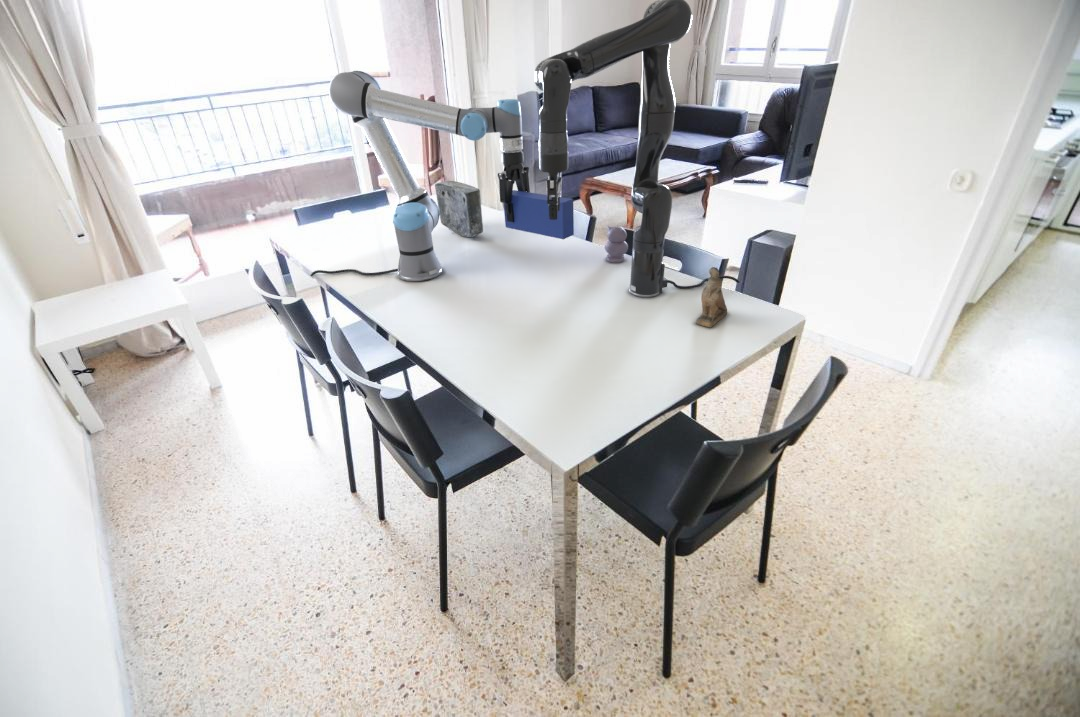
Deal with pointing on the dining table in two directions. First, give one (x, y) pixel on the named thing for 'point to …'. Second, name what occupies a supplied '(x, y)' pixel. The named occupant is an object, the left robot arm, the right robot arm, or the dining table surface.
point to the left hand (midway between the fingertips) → (516, 219)
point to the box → (540, 215)
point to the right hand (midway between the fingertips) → (554, 214)
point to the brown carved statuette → (712, 301)
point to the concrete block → (460, 207)
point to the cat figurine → (616, 244)
